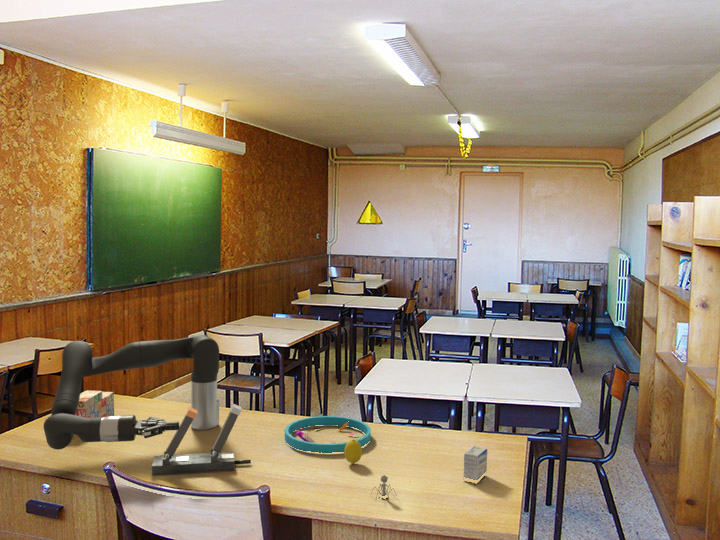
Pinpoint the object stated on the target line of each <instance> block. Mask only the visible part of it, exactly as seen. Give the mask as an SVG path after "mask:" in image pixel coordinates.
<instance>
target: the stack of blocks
mask: <svg viewBox="0 0 720 540" xmlns="http://www.w3.org/2000/svg"><path fill="white" fill-rule="evenodd" d="M114 394H115V393H114V391H102V390H88V389H87V390H85V391H83V392H80V398H79V403H78V407H77V411H76V415H77V416H82V417H86V418H96V417H108V416H115V400H114Z"/></svg>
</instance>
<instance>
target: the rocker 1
mask: <svg viewBox="0 0 720 540" xmlns="http://www.w3.org/2000/svg"><path fill="white" fill-rule="evenodd" d="M196 415H197V410H195V409H193V408H191V406H189V407H188V409H187V411H186V413H185V414H184V417H183V418H182V421H181V423H179V429H178V430H175V433H174V435H173V437H172V438H171V440H170V442H169V444H168V446H167V448H166V450H165V451H166V455H165V458H169V455H170V456H173V455H175V453H176V451H177V449H178V448H179V446H180V444H181V442H182V441H183V439H184V437H185V435H186V433H187V432H188V431H189V428H190V427H191V423H192V421H193V419H195V417H196Z"/></svg>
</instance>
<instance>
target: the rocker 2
mask: <svg viewBox="0 0 720 540" xmlns="http://www.w3.org/2000/svg"><path fill="white" fill-rule="evenodd" d="M242 411H243V410H242V407H241V406H240V405H237V404H235V403H232V406H231V407H230V411H229V413H228V415H227V417H226V419H225V421H224V423H223V426H222V428H221V429H220V431H219V434H218V435H217V438H216V440H215V442H214V444H213V446H212V448H213V453H212V455H216V452H218V453H221V452H223V449H224V446H225V445H226V442H227V440H228V437H230V436H229V435H230V434H231V432H232V430H233V428H234V425H235V423H236V421H237V419H238V417H239V416H240V415H241V412H242Z"/></svg>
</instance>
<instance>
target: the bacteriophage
mask: <svg viewBox="0 0 720 540" xmlns="http://www.w3.org/2000/svg"><path fill="white" fill-rule="evenodd" d="M388 479H389V477H388V476H387V475H385V474H384V475H381V477H380V481H381V482H382V483H379V487H378V488H377V487H376V486H374V489H376V490H377V494H376V495H378V493H379V494H380V495H382V496H385V495H387V496H388V499H390V498H389V494H388V493H389V491H388V489H389V490H395V488H392V489H391V485H390V484H389V485H387V482H388ZM386 487H387V488H386ZM378 491H379V492H378ZM372 493H374V490H372V491H371V493H370V495H372ZM394 494H395V495H397V494H396V492H394ZM377 497H378V496H376V497H375V499H377Z"/></svg>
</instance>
